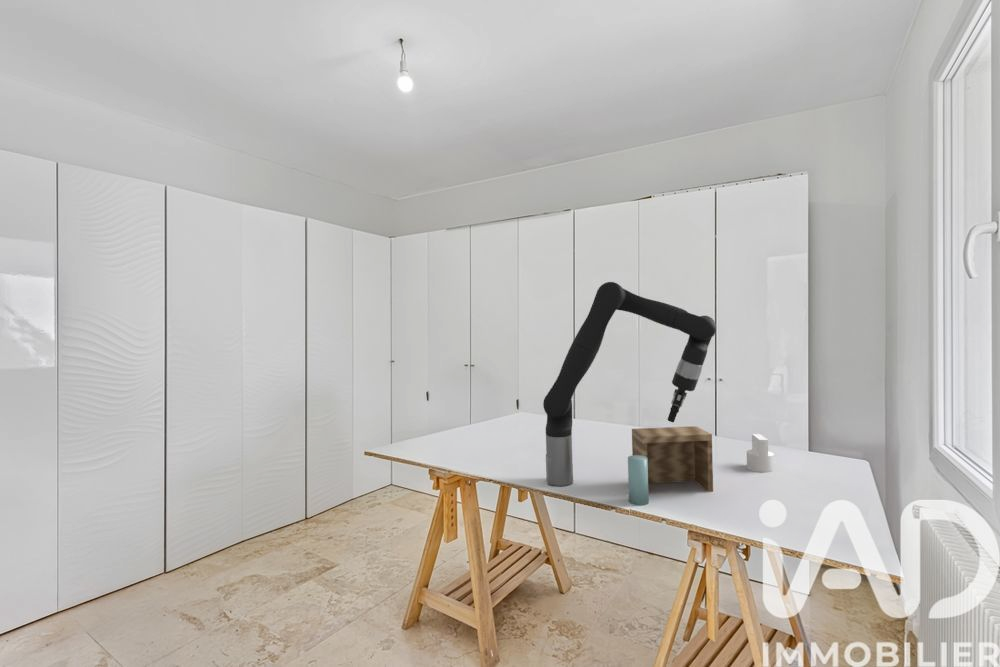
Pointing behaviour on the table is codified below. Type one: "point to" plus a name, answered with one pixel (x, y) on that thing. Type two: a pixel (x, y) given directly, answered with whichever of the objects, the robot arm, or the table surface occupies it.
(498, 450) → the table surface
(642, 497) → the tumbler
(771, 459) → the base with upright slab
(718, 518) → the table surface
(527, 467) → the table surface
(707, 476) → the open wooden box
